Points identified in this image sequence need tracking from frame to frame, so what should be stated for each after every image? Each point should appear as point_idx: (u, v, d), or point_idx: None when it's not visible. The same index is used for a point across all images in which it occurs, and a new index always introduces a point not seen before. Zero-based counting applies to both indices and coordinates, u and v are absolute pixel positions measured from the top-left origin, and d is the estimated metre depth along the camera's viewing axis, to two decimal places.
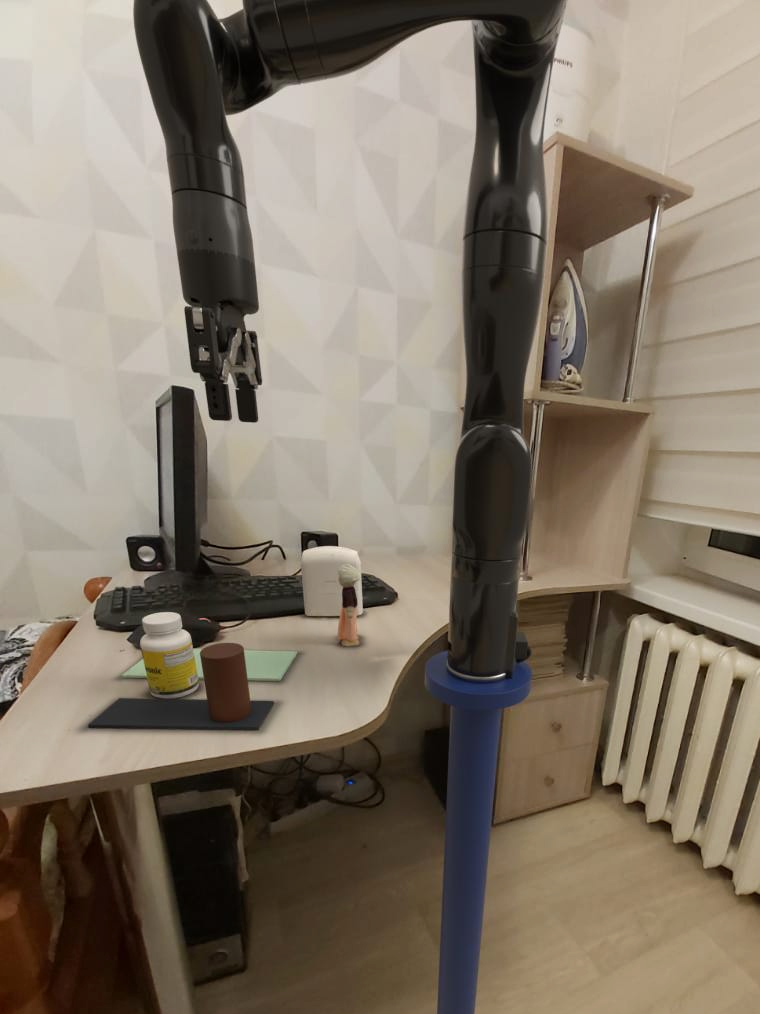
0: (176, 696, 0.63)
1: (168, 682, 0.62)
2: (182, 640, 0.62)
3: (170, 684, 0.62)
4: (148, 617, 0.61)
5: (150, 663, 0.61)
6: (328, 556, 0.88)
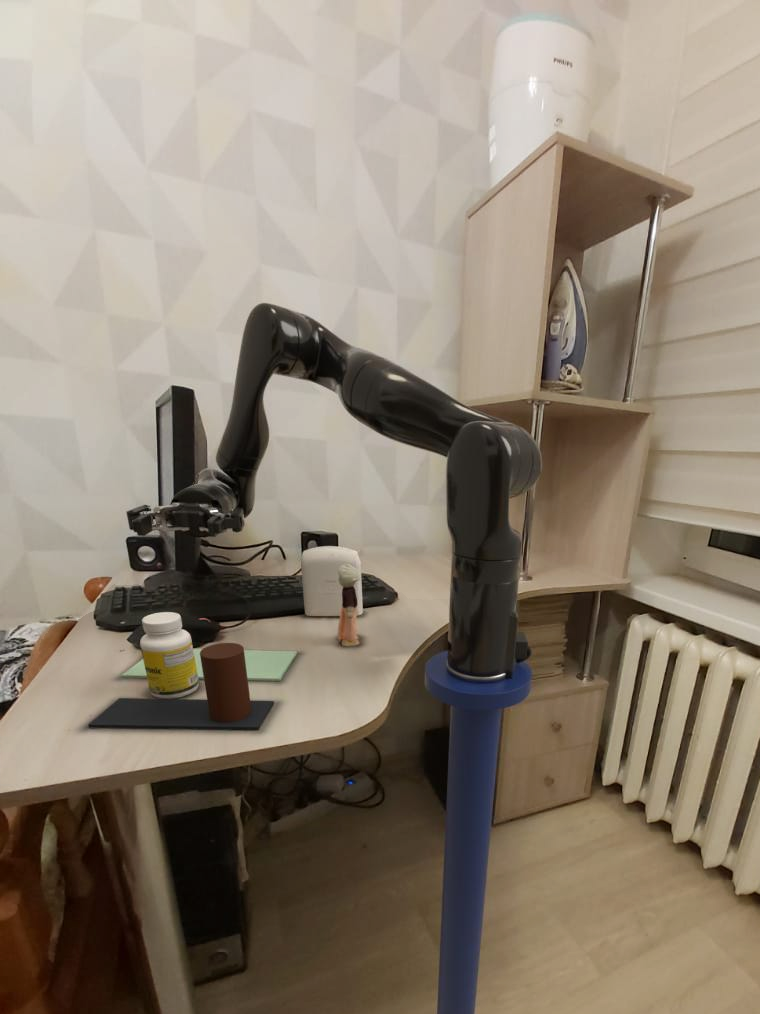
0: (176, 696, 0.63)
1: (168, 682, 0.62)
2: (182, 640, 0.61)
3: (170, 684, 0.62)
4: (148, 617, 0.61)
5: (150, 663, 0.61)
6: (328, 556, 0.88)
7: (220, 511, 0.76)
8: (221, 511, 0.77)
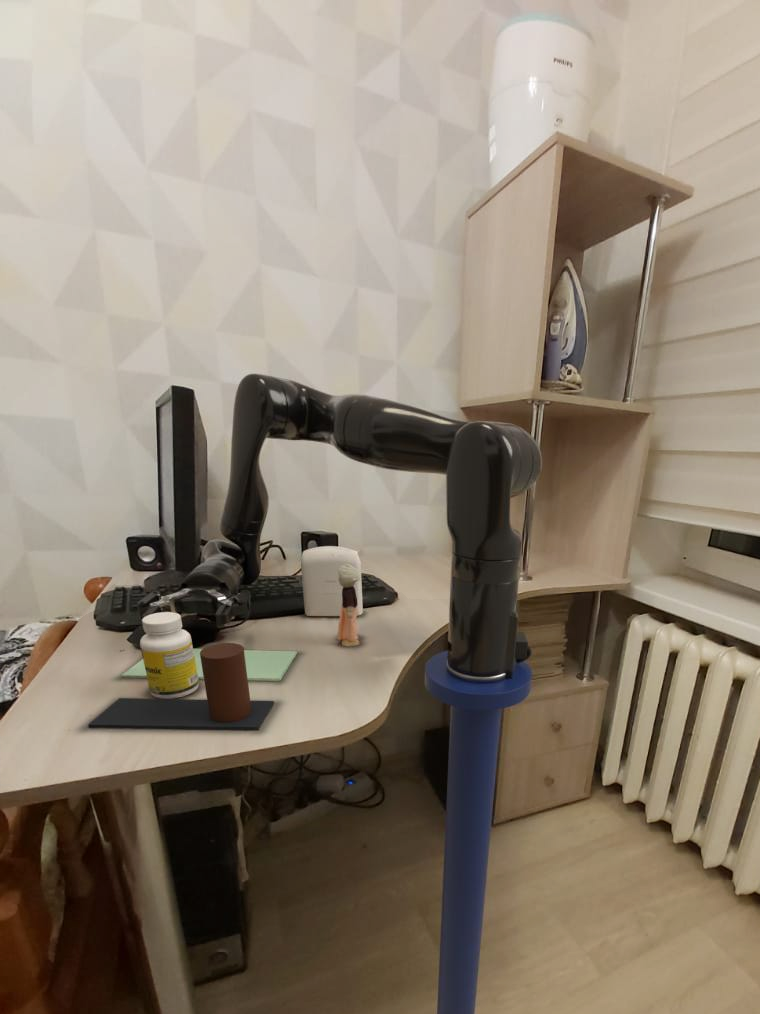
0: (176, 696, 0.63)
1: (168, 682, 0.62)
2: (182, 640, 0.61)
3: (170, 684, 0.62)
4: (148, 617, 0.61)
5: (150, 663, 0.61)
6: (328, 556, 0.88)
7: (227, 595, 0.78)
8: (228, 595, 0.78)
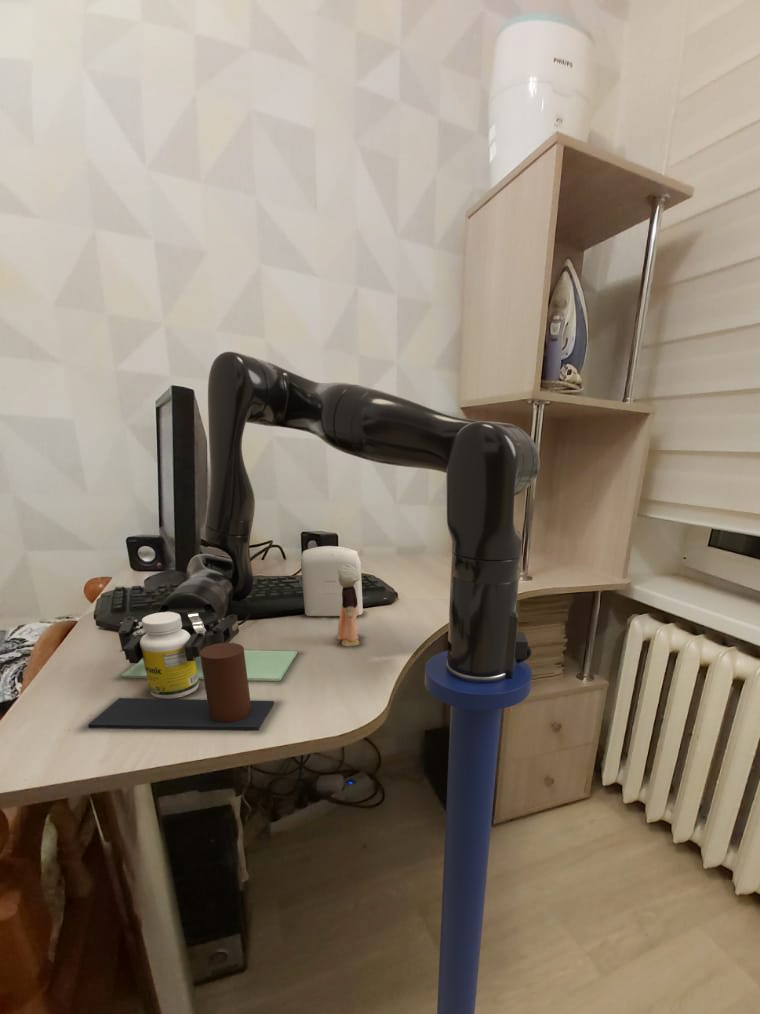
0: (176, 696, 0.63)
1: (168, 682, 0.62)
2: (181, 640, 0.61)
3: (170, 684, 0.62)
4: (148, 617, 0.61)
5: (150, 663, 0.61)
6: (328, 556, 0.88)
7: (211, 619, 0.69)
8: (213, 619, 0.69)
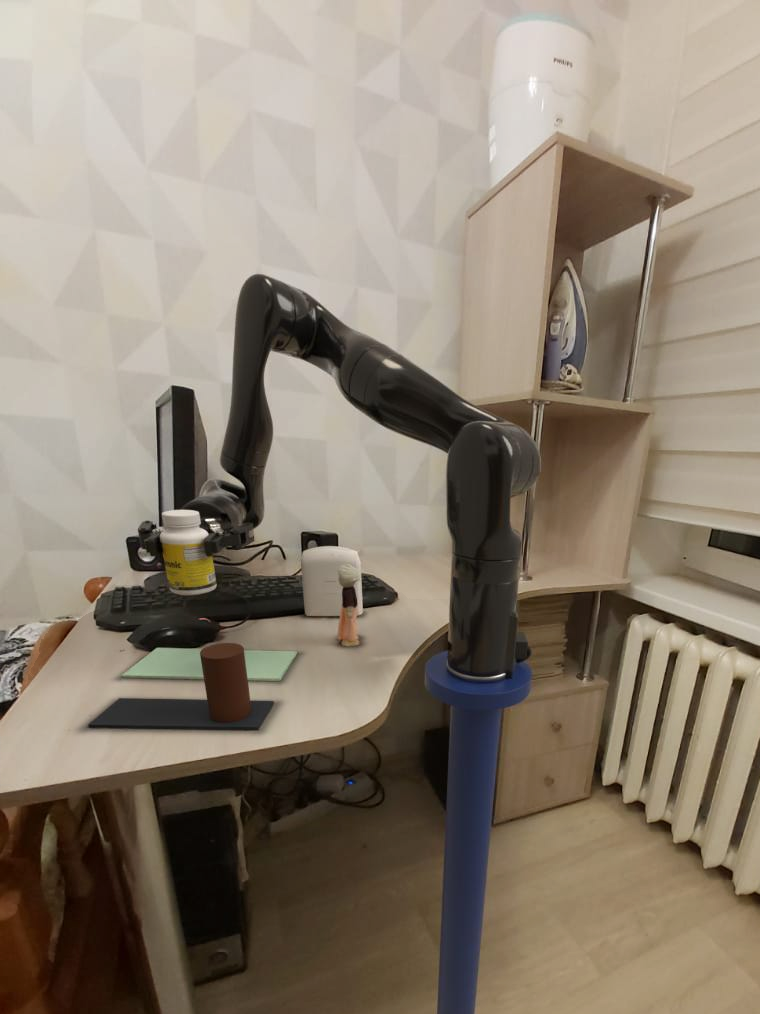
0: (195, 592, 0.64)
1: (187, 577, 0.63)
2: (200, 535, 0.63)
3: (189, 579, 0.63)
4: (167, 512, 0.62)
5: (170, 556, 0.62)
6: (328, 556, 0.88)
7: (228, 526, 0.70)
8: (229, 526, 0.70)
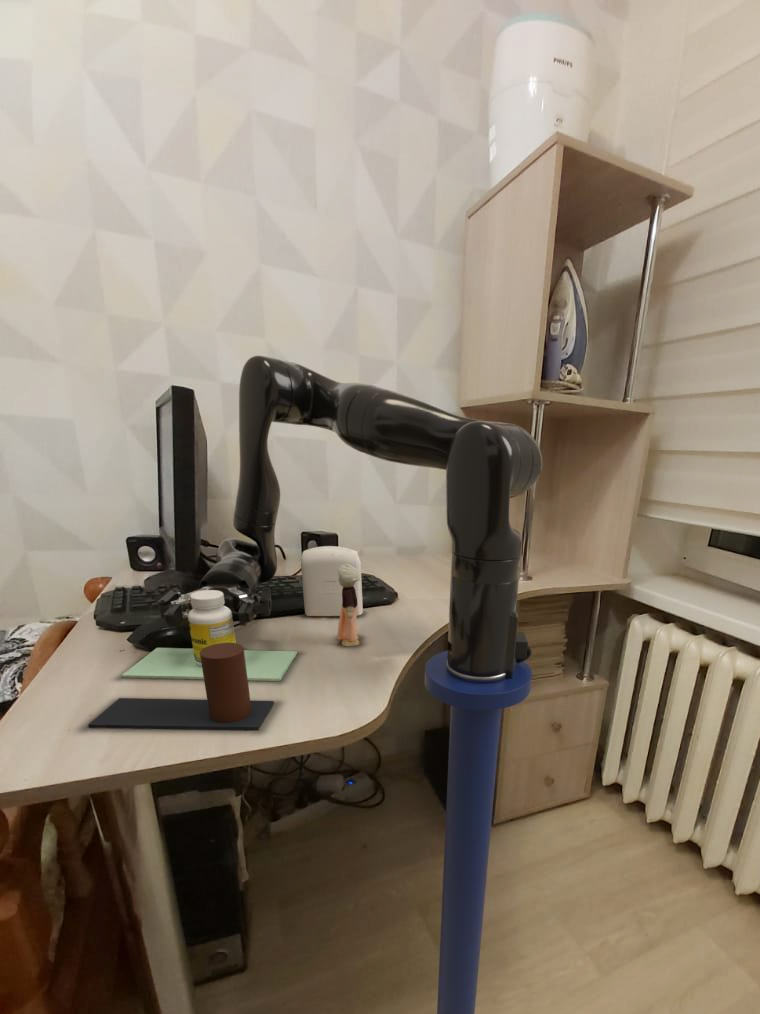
0: None
1: None
2: (224, 614, 0.69)
3: None
4: (195, 594, 0.68)
5: (197, 634, 0.68)
6: (328, 556, 0.88)
7: (248, 593, 0.77)
8: (249, 593, 0.77)
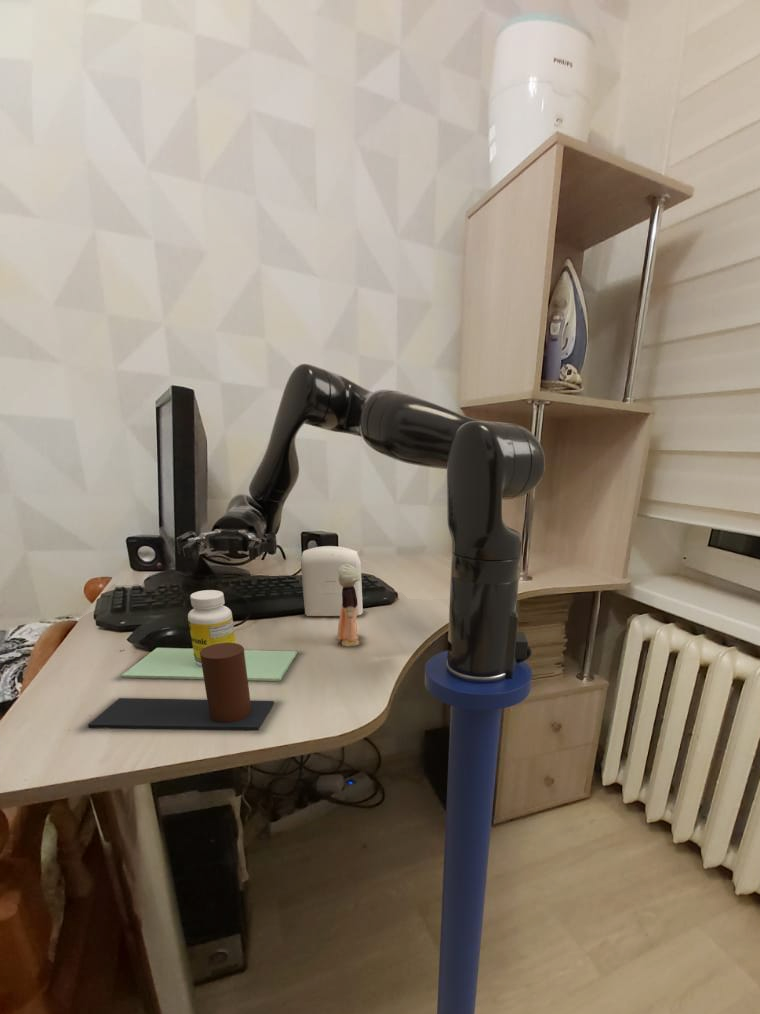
0: None
1: None
2: (224, 614, 0.69)
3: None
4: (195, 594, 0.68)
5: (197, 634, 0.68)
6: (328, 556, 0.88)
7: (256, 536, 0.86)
8: (257, 536, 0.86)
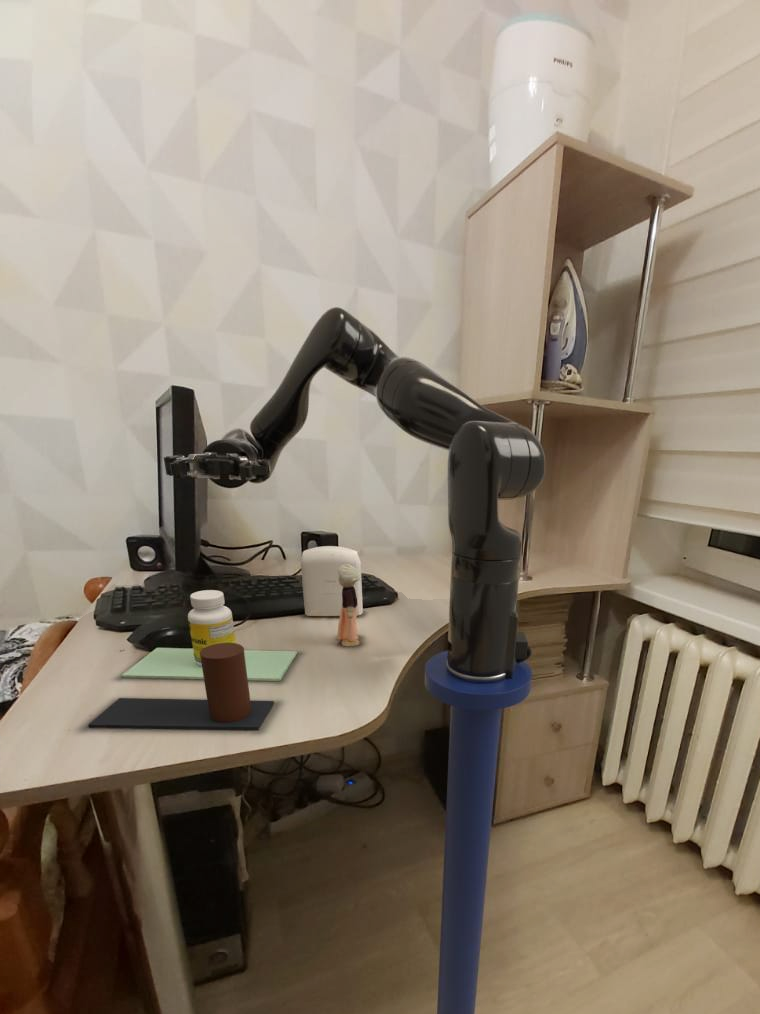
0: None
1: None
2: (224, 614, 0.69)
3: None
4: (195, 594, 0.68)
5: (197, 634, 0.68)
6: (328, 556, 0.88)
7: None
8: None
